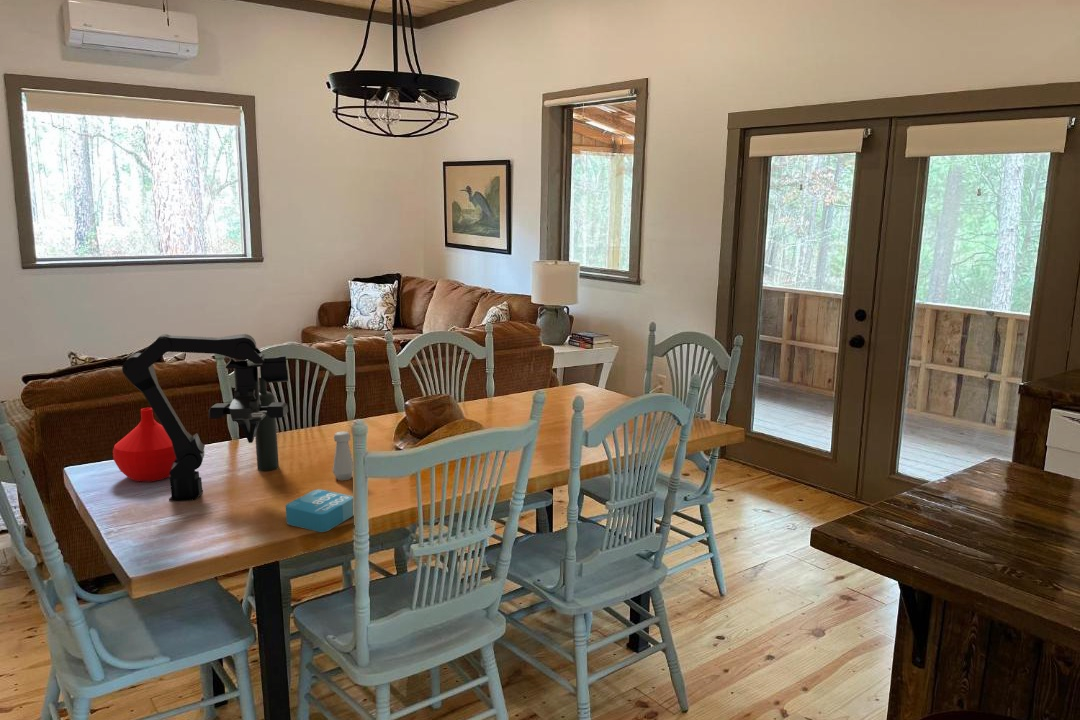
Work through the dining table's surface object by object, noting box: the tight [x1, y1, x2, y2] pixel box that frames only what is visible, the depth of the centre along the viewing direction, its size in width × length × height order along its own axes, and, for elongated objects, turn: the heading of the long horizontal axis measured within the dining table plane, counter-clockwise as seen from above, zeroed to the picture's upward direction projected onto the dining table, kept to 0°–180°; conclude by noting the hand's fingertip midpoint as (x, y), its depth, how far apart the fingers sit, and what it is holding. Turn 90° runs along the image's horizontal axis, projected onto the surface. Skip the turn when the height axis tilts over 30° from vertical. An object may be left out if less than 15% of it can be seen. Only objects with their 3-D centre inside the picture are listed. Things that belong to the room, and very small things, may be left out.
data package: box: [285, 489, 354, 533], centre depth 192 cm, size 12×4×12 cm
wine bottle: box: [254, 367, 280, 472], centre depth 228 cm, size 6×6×30 cm
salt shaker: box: [332, 430, 354, 481], centre depth 221 cm, size 6×6×13 cm
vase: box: [112, 407, 176, 482], centre depth 222 cm, size 18×18×19 cm
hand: (250, 442), depth 211 cm, fingers closed
